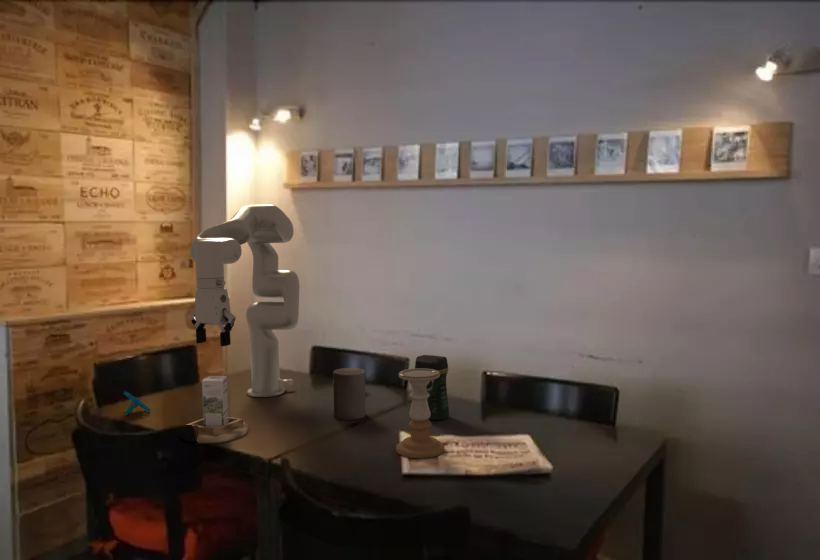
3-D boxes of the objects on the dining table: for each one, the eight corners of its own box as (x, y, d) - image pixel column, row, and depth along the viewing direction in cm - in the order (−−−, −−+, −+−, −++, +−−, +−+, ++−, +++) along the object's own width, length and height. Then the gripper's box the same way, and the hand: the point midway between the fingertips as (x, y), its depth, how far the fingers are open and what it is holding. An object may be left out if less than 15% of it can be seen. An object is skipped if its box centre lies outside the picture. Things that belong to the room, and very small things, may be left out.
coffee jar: (452, 416, 206) (452, 354, 205) (440, 422, 199) (439, 359, 198) (424, 411, 211) (423, 351, 210) (411, 418, 204) (410, 356, 203)
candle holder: (397, 443, 181) (396, 367, 180) (444, 442, 181) (443, 367, 179) (394, 459, 169) (393, 378, 168) (445, 458, 169) (444, 377, 167)
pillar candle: (328, 418, 205) (326, 369, 204) (343, 410, 214) (342, 362, 213) (357, 421, 202) (356, 371, 201) (371, 413, 211) (370, 364, 210)
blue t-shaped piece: (155, 410, 212) (129, 390, 208) (142, 426, 209) (115, 406, 206) (148, 407, 221) (123, 388, 218) (135, 422, 219) (109, 403, 215)
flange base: (212, 421, 205) (212, 407, 204) (261, 428, 196) (260, 413, 196) (166, 438, 188) (165, 423, 188) (217, 446, 180) (216, 431, 180)
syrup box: (229, 425, 195) (227, 375, 194) (224, 431, 189) (222, 379, 188) (208, 426, 195) (206, 375, 194) (203, 432, 189) (201, 380, 188)
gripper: (242, 283, 192) (245, 344, 194) (199, 281, 201) (202, 339, 203) (222, 286, 186) (225, 349, 187) (178, 284, 195) (181, 343, 196)
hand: (213, 344), depth 195 cm, fingers open, 9 cm apart
